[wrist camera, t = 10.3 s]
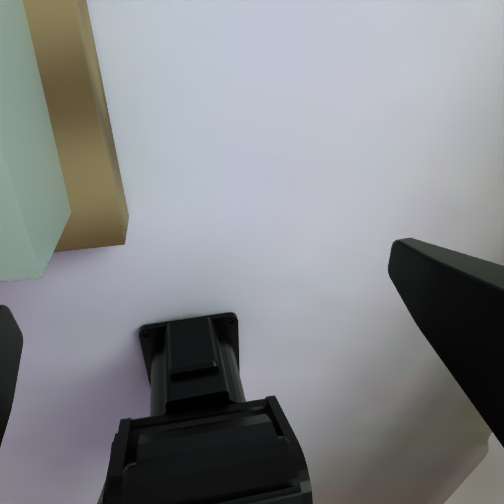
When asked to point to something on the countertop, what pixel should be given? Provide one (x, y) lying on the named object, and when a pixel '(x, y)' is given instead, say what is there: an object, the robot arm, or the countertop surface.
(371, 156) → the countertop surface
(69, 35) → the walnut stand
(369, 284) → the countertop surface
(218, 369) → the robot arm
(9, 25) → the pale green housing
